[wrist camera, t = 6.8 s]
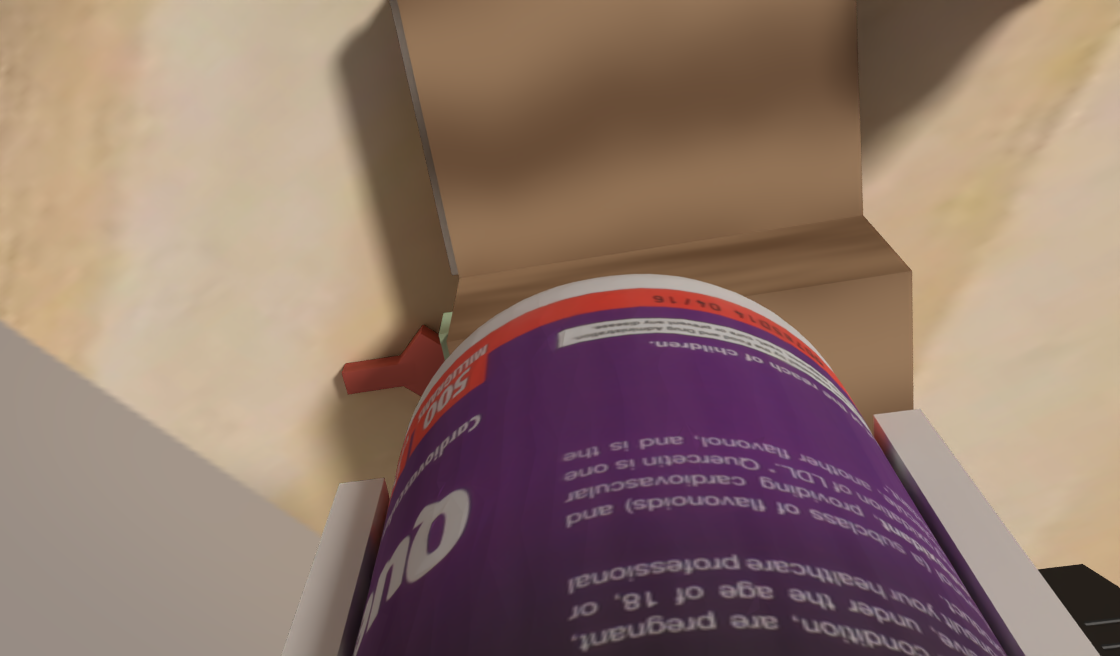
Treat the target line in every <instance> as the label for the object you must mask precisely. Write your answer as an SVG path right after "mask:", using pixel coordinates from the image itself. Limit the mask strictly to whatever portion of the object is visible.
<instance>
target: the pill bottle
mask: <svg viewBox="0 0 1120 656" xmlns="http://www.w3.org/2000/svg"><path fill="white" fill-rule="evenodd" d="M353 656H1007V655H1006V653H1005V651H1004V650H1003V648H1002V646H1001V645H1000V643H999V642H998V640H997V638H996V637H995V635H994V633H993V632H992V630H991V628H990V627H989V625H988V623H987V622H986V620H985V619H984V617H983V615H982V614H981V612H980V610H979V609H978V607H977V605H976V604H975V602H974V601H973V599H972V598H971V596H970V595H969V593H968V591H967V589H966V588H965V586H964V584H963V583H962V581H961V579H960V578H959V576H958V574H957V573H956V571H955V569H954V568H953V566H952V564H951V563H950V561H949V559H948V558H947V556H946V555H945V553H944V552H943V550H942V549H941V547H940V545H939V544H938V542H937V540H936V539H935V537H934V535H933V534H932V532H931V531H930V529H929V527H928V526H927V524H926V522H925V521H924V519H923V517H922V516H921V514H920V512H919V511H918V509H917V507H916V506H915V504H914V502H913V501H912V499H911V498H910V496H909V494H908V493H907V491H906V489H905V488H904V486H903V484H902V483H901V481H900V479H899V478H898V476H897V474H896V473H895V471H894V469H893V468H892V466H891V465H890V463H889V461H888V460H887V458H886V456H885V455H884V453H883V451H882V449H881V448H880V446H879V445H878V443H877V442H876V440H875V438H874V437H873V435H872V433H871V431H870V429H869V427H868V425H867V424H866V422H865V420H864V419H863V417H862V415H861V414H860V412H859V410H858V409H857V407H856V405H855V404H854V402H853V400H852V399H851V397H850V396H849V394H848V392H847V391H846V389H845V388H844V386H843V385H842V383H841V382H840V381H839V379H838V378H837V376H836V375H835V374H834V372H833V370H832V369H831V367H830V366H829V365H828V363H827V362H826V361H825V360H824V358H823V357H822V356H821V355H820V353H819V352H818V351H817V350H816V349H815V348H814V347H813V345H812V344H811V343H810V342H809V341H808V340H807V339H806V338H804V337H803V336H802V335H801V334H800V333H799V332H798V331H797V330H796V329H794V328H793V327H792V326H791V325H789V324H788V323H787V322H785V321H784V320H783V319H781V318H780V317H779V316H778V315H776V314H775V313H773V312H772V311H770V310H768V309H767V308H765V307H763V306H761V305H760V304H758V303H756V302H754V301H752V300H750V299H748V298H746V297H744V296H742V295H740V294H738V293H735V292H733V291H730V290H727V289H724V288H721V287H718V286H715V285H712V284H709V283H706V282H702V281H698V280H694V279H689V278H684V277H679V276H670V275H659V274H626V275H614V276H606V277H599V278H592V279H587V280H582V281H577V282H572V283H568V284H565V285H561V286H557V287H554V288H551V289H549V290H546V291H543V292H540V293H538V294H536V295H533V296H531V297H529V298H526V299H524V300H522V301H520V302H518V303H517V304H515V305H513V306H511V307H509V308H508V309H506V310H504V311H502V312H501V313H499V314H497V315H495V316H494V317H493V318H491V319H490V320H489V321H487V322H486V323H484V324H483V325H482V326H480V327H479V328H478V329H477V330H475V331H474V332H473V333H472V334H471V335H470V336H469V337H468V338H467V339H465V340H464V341H463V342H462V343H461V344H460V345H459V346H458V347H457V348H456V349H455V351H454V352H453V353H452V354H451V355H450V356H449V357H448V358H447V359H446V360H445V361H444V363H443V364H442V365H441V367H440V368H439V369H438V371H437V372H436V374H435V375H434V376H433V378H432V379H431V381H430V383H429V384H428V386H427V388H426V389H425V391H424V393H423V395H422V397H421V399H420V401H419V403H418V405H417V407H416V409H415V411H414V413H413V416H412V418H411V421H410V423H409V426H408V429H407V432H406V436H405V440H404V444H403V448H402V451H401V454H400V458H399V462H398V467H397V471H396V476H395V481H394V485H393V488H392V493H391V497H390V501H389V506H388V510H387V515H386V520H385V525H384V530H383V534H382V538H381V542H380V546H379V550H378V554H377V558H376V562H375V566H374V570H373V575H372V579H371V584H370V588H369V593H368V597H367V601H366V604H365V608H364V612H363V617H362V622H361V626H360V629H359V633H358V636H357V640H356V644H355V648H354V653H353Z"/></svg>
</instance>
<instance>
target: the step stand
mask: <svg viewBox="0 0 1120 656" xmlns="http://www.w3.org/2000/svg"><path fill="white" fill-rule="evenodd" d="M390 5H391V9H392V13H393V18H394V22H395V27H396V31H397V35H398V40H399V44H400V49H401V53H402V57H403V62H404V66H405V71H406V75H407V79H408V84H409V88H410V93H411V97H412V101H413V106H414V110H415V115H416V119H417V123H418V128H419V132H420V137H421V141H422V145H423V150H424V154H425V159H426V163H427V167H428V172H429V176H430V181H431V185H432V189H433V194H434V198H435V203H436V207H437V211H438V216H439V220H440V225H441V229H442V234H443V238H444V242H445V247H446V251H447V256H448V260H449V264H450V269H451V273H452V275H457V274H459V283H458V288H457V293H456V298H455V303H454V307H453V312H448V313H443V318H442V322H441V327H440V331H439V334H437V333H436V332H434V331H433V330H431V329H429V328H428V327H426V326H424V325H422V327H421V328H420V329H419V331H418V332H417V333H416V335H415V336H414V338H413V339H412V340H411V342H410V343H409V344H408V346H407V347H406V349H405V350H404V351H403V353H402V354H401V355H399V356H392V357H386V358H379V359H373V360H366V361H360V362H353V363H346V364H345V366H344V368H343V371H342V376H343V379H344V382H345V386H346V389H347V393H348V394H354V393H361V392H367V391H374V390H381V389H387V388H394V387H401V386H404V387H406V388H408V389H409V390H411V391H413V392H414V393H416V394H418V395H420V396H421V397H422V395H423V393H424V391H425V389H426V388H427V386H428V384H429V383H430V381H431V379H432V378H433V376H434V375H435V374H436V372H437V371H438V369H439V368H440V367H441V365H442V364H443V363H444V361H445V360H446V359H447V358H448V357H449V356H450V355H451V354H452V353H453V352H454V351H455V349H456V348H457V347H458V346H459V345H460V344H461V343H462V342H463V341H464V340H465V339H467V338H468V337H469V336H470V335H471V334H472V333H473V332H474V331H475V330H477V329H478V328H479V327H480V326H482V325H483V324H484V323H486V322H487V321H489V320H490V319H491V318H493V317H494V316H495V315H497V314H499V313H501V312H502V311H504V310H506V309H508V308H509V307H511V306H513V305H515V304H517V303H518V302H520V301H522V300H524V299H526V298H529V297H531V296H533V295H536V294H538V293H540V292H543V291H546V290H549V289H551V288H554V287H557V286H561V285H565V284H568V283H572V282H577V281H582V280H587V279H592V278H599V277H606V276H614V275H626V274H659V275H670V276H679V277H684V278H689V279H694V280H698V281H702V282H706V283H709V284H712V285H715V286H718V287H721V288H724V289H727V290H730V291H733V292H735V293H738V294H740V295H742V296H744V297H746V298H748V299H750V300H752V301H754V302H756V303H758V304H760V305H761V306H763V307H765V308H767V309H768V310H770V311H772V312H773V313H775V314H776V315H778V316H779V317H780V318H781V319H783V320H784V321H785V322H787V323H788V324H789V325H791V326H792V327H793V328H794V329H796V330H797V331H798V332H799V333H800V334H801V335H802V336H803V337H804V338H806V339H807V340H808V341H809V342H810V343H811V344H812V345H813V347H814V348H815V349H816V350H817V351H818V352H819V353H820V355H821V356H822V357H823V358H824V360H825V361H826V362H827V363H828V365H829V366H830V367H831V369H832V370H833V372H834V374H835V375H836V376H837V378H838V379H839V381H840V382H841V383H842V385H843V386H844V388H845V389H846V391H847V392H848V394H849V396H850V397H851V399H852V400H853V402H854V404H855V405H856V407H857V409H858V410H859V412H860V414H861V415H862V417H863V419H864V420H865V422H866V424H867V425H868V427H869V429H870V431H871V433H872V435H873V437H874V419H873V415H875V414H883V413H891V412H899V411H907V410H913V318H912V270H911V269H910V268H909V267H908V266H907V265H906V264H905V262H904V261H903V260H902V259H901V258H900V257H899V256H898V254H897V253H896V252H895V251H894V250H893V249H892V248H891V246H890V245H889V244H888V243H887V242H886V241H885V240H884V238H883V237H882V236H881V235H880V234H879V233H878V232H877V231H876V229H875V228H874V227H873V226H872V225H871V224H870V223H869V221H868V220H867V219H866V218H865V217H864V216H863V198H862V166H861V135H860V104H859V73H858V42H857V11H856V0H390Z"/></svg>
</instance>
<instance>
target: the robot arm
mask: <svg viewBox="0 0 1120 656" xmlns="http://www.w3.org/2000/svg"><path fill="white" fill-rule="evenodd" d="M873 419H874V438H875V440H876V442H877V443H878V445H879V446H880V448H881V449H882V451H883V453H884V455H885V456H886V458H887V460H888V461H889V463H890V465H891V466H892V468H893V469H894V471H895V473H896V474H897V476H898V478H899V479H900V481H901V483H902V484H903V486H904V488H905V489H906V491H907V493H908V494H909V496H910V498H911V499H912V501H913V502H914V504H915V506H916V507H917V509H918V511H919V512H920V514H921V516H922V517H923V519H924V521H925V522H926V524H927V526H928V527H929V529H930V531H931V532H932V534H933V535H934V537H935V539H936V540H937V542H938V544H939V545H940V547H941V549H942V550H943V552H944V553H945V555H946V556H947V558H948V559H949V561H950V563H951V564H952V566H953V568H954V569H955V571H956V573H957V574H958V576H959V578H960V579H961V581H962V583H963V584H964V586H965V588H966V589H967V591H968V593H969V595H970V596H971V598H972V599H973V601H974V602H975V604H976V605H977V607H978V609H979V610H980V612H981V614H982V615H983V617H984V619H985V620H986V622H987V623H988V625H989V627H990V628H991V630H992V632H993V633H994V635H995V637H996V638H997V640H998V642H999V643H1000V645H1001V646H1002V648H1003V650H1004V651H1005V653H1006V655H1007V656H1120V588H1119V587H1118V586H1116V585H1115V584H1113V583H1112V582H1110V581H1109V580H1107V579H1105V578H1104V577H1102V576H1101V575H1099V574H1098V573H1096V572H1094V571H1093V570H1091V569H1090V568H1088V567H1086V566H1085V565H1083V564H1079V565H1071V566H1063V567H1054V568H1046V569H1037V568H1036V567H1035V565H1034V564H1033V563H1032V561H1031V560H1030V559H1029V557H1028V556H1027V554H1026V553H1025V552H1024V550H1023V549H1022V548H1021V546H1020V545H1019V543H1018V542H1017V541H1016V539H1015V538H1014V537H1013V535H1012V534H1011V532H1010V531H1009V530H1008V528H1007V527H1006V526H1005V524H1004V523H1003V521H1002V520H1001V519H1000V517H999V516H998V515H997V513H996V512H995V510H994V509H993V508H992V506H991V505H990V504H989V502H988V501H987V500H986V498H985V497H984V495H983V494H982V493H981V491H980V490H979V489H978V487H977V486H976V484H975V483H974V482H973V480H972V479H971V478H970V476H969V475H968V473H967V472H966V471H965V469H964V468H963V467H962V465H961V464H960V462H959V461H958V460H957V458H956V457H955V456H954V454H953V453H952V451H951V450H950V449H949V447H948V446H947V445H946V443H945V442H944V441H943V439H942V438H941V436H940V435H939V434H938V432H937V431H936V430H935V428H934V427H933V425H932V424H931V423H930V421H929V420H928V419H927V417H926V416H925V414H924V413H923V412H922V410H921V409H914V410H907V411H899V412H891V413H883V414H875V415H873ZM389 501H390V498H389V494H388V490H387V486H386V482H385V478H378V479H370V480H362V481H355V482H347V483H340V484H339V486H338V489H337V492H336V495H335V498H334V501H333V504H332V507H331V510H330V513H329V516H328V519H327V522H326V525H325V528H324V531H323V534H322V537H321V540H320V543H319V546H318V548H317V552H316V554H315V557H314V560H313V563H312V566H311V569H310V573H309V575H308V578H307V581H306V584H305V587H304V590H303V593H302V596H301V599H300V602H299V605H298V608H297V610H296V613H295V616H294V619H293V622H292V625H291V628H290V631H289V634H288V637H287V640H286V643H285V646H284V649H283V652H282V655H281V656H353V653H354V648H355V644H356V640H357V636H358V633H359V629H360V626H361V622H362V617H363V612H364V608H365V604H366V601H367V597H368V593H369V588H370V584H371V579H372V575H373V570H374V566H375V562H376V558H377V554H378V550H379V546H380V542H381V538H382V534H383V530H384V525H385V520H386V515H387V510H388V506H389Z"/></svg>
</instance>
